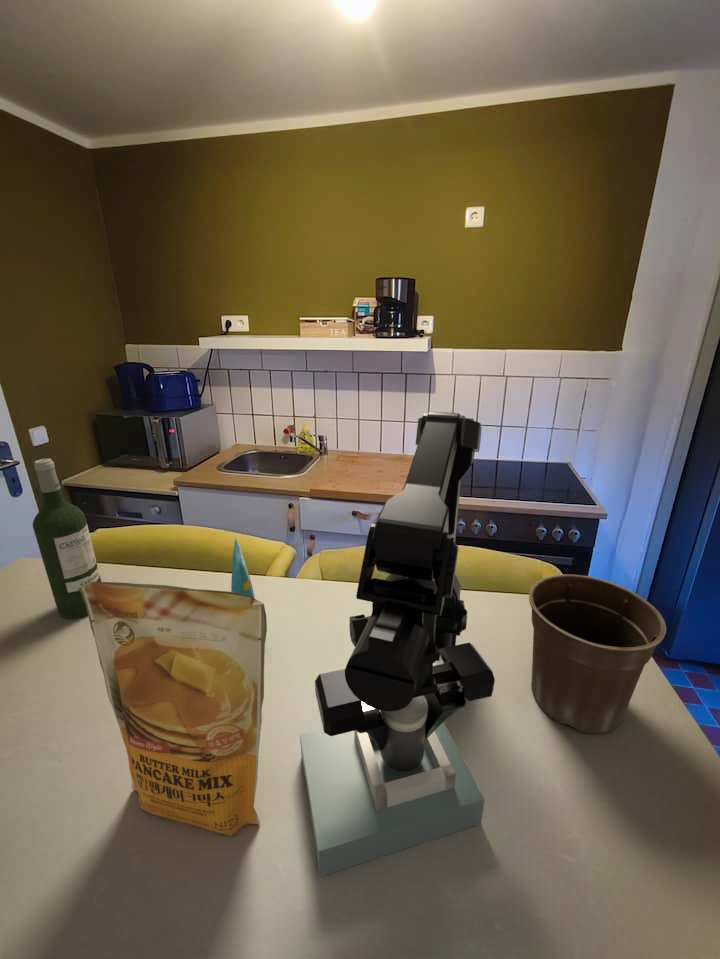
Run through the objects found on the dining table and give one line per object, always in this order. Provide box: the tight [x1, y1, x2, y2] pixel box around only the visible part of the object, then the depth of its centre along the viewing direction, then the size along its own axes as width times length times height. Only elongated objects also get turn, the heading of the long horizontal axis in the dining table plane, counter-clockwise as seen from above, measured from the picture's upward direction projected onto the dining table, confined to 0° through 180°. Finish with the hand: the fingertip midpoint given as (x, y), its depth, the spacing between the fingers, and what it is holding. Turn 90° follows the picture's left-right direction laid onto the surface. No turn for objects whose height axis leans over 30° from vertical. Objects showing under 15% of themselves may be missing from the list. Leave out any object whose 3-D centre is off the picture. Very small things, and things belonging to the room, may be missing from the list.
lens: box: [379, 696, 428, 772], centre depth 48 cm, size 5×5×7 cm
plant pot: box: [528, 573, 667, 735], centre depth 60 cm, size 16×16×16 cm
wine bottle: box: [32, 458, 102, 620], centre depth 79 cm, size 8×8×30 cm
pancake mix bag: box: [79, 581, 268, 837], centre depth 45 cm, size 7×19×28 cm, turn 76°
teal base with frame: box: [299, 721, 485, 878], centre depth 50 cm, size 18×13×6 cm
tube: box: [230, 536, 256, 599], centre depth 70 cm, size 7×5×19 cm, turn 27°
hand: (402, 740), depth 49 cm, fingers closed on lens, 5 cm apart
